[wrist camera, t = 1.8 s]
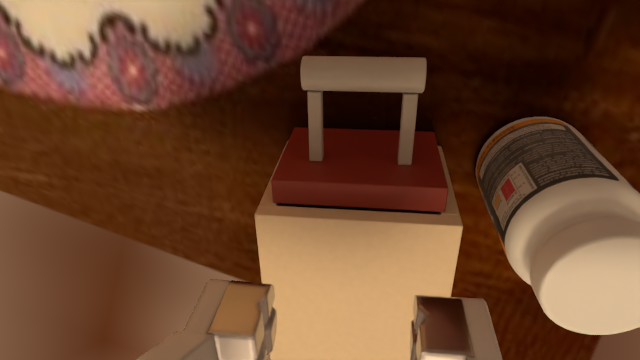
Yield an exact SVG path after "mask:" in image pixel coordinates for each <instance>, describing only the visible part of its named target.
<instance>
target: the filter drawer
mask: <svg viewBox="0 0 640 360" xmlns="http://www.w3.org/2000/svg"><path fill="white" fill-rule="evenodd" d="M426 72H427V62H426V58H419V57H349V56H303V57H302V60H301V69H300V78H301V87H302V89H303V90H308V92H307V97H308V128H304V127H294V129H293V132H292V134H291V136H290V138H289V141H288V143H287V145H286V148H285V150H284V152H283V154H282V157H281V159H280V161H279V164H278V166H277V168H276V170H275V173H274V175H273V177H272V180H271V186H272V198H273V203H280V204H298V205H297V207H308V208H326V209H345V210H363V211H382V212H401V213H419V214H422V212H421V211H431V212H445V210H446V203H447V196H448V190H449V189H448V185H447V181H446V177H445V173H444V169H443V165H442V161H441V157H440V153H439V149H438V145H437V141H436V137H435V133H434V132H425V131H415V123H416V113H417V103H418V93H423V92H424V89H425V83H426ZM323 91H358V92H401V93H403V97H402V109H401V122H400V131H394V130H364V129H334V128H323Z"/></svg>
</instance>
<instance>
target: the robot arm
mask: <svg viewBox="0 0 640 360" xmlns="http://www.w3.org/2000/svg"><path fill="white" fill-rule="evenodd" d="M274 299H275V292H274V286H273V285H272V284H263V283H253V282H243V281H233V280H232V281H227V280H218V279H211V280H210V281H209V282H207V283H206V286H205V288H204V290H203V292H202V294H201V296H200V298H199V300H198V302H197V304H196V306H195V308H194V310H193V312H192V314H191V316H190V318H189V320H188V322H187V324H186V326H185V328H184V330H183V332H178V331H177V332H175V333H173V334H172V335H171V336H169V337H168V338H166V339H165V340H163V341H162V342H161V343H159V344H158V345H156V346H155V347H153V348H152V349H150V350H149V351H148V352H146V353H145V354H143V355H142V356H141V357H139V358H138V359H136V360H267V355H268V354H269V353H271V352H272V351H273V347H274V342H275V337H276V330H277V312H276V310H275V308H274V307H273V302H274ZM413 314H414V320H412V321H411V330H410V360H502V357H501V353H500V350H499V346H498V342H497V339H496V335H495V332H494V328H493V325H492V321H491V318H490V314H489V311H488V307H487V303H486V302H485V300H484V299H475V298H457V297H441V296H426V295H415V298H414V304H413Z"/></svg>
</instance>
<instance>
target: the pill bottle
mask: <svg viewBox="0 0 640 360" xmlns="http://www.w3.org/2000/svg"><path fill="white" fill-rule="evenodd" d="M476 179H477V183H478V186H479V189H480V192H481V194H482V197H483V200H484V202H485V204H486V207H487V210H488V212H489V215H490V217H491V219H492V222H493V224H494V227H495V229H496V231H497V233H498V236H499V239H500V241H501V244H502V246H503V249H504V251H505V254H506V256H507V259H508V261H509V263H510V264H511V266H512V268H513V269H514V271H515V272H516V273H517V274H518V275H519V276H520V277H521V278H522V279H523V280H524V281H525V282H527V283H528V284H529V285H531V286H532V288H533V290H534V293H535V295H536V297H537V299H538V301H539V303H540V305H541V307H542V309H543V311H544V312H545V314H546V315H547V316H548V317H549V318H550V319H551V320H552V321H554V322H555V323H556V324H558V325H560V326H562V327H563V328H566V329H568V330H571V331H574V332H578V333H583V334H590V335H607V334H615V333H620V332H625V331H629V330H632V329H634V328H637V327H640V193H639V192H638V191H637V190H636V189H635V188H634V187H633V185H632V184H631V183H630V182H629V181H627V180H626V179H625V178H624V177H623V176H622V175H621V173H620V172H618V171H617V170H616V169H615V168H614V167H613V166H612V165H611V164H610V163H609V162H608V161H607V160H606V159H605V158H604V157H603V155H602V154H601V153H600V152H599V151H598V150H597V149H596V148H595V147H594V146H593V145H592V144H591V143H590V142H589V141H588V140H587V139H586V138H585V137H584V136H583V135H582V134H581V133H580V132H578V131H577V130H576V129H575V128H574V127H572V126H571V125H569V124H567V123H566V122H563V121H561V120H559V119H555V118H550V117H529V118H523V119H520V120H516V121H514V122H512V123H509V124H507V125H506V126H504V127H502V128H501V129H499V130H497V131H496V132H495V133H494V134H493V135H492V136H491V137H490V138H489V139H488V140H487V142H486V143H485V144H484V146H483V147H482V149H481V151H480V153H479V155H478V159H477V162H476Z"/></svg>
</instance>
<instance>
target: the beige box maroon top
mask: <svg viewBox="0 0 640 360" xmlns="http://www.w3.org/2000/svg"><path fill="white" fill-rule="evenodd" d="M288 141H289V140H288ZM288 141H287V143H288ZM287 143H286V145H287ZM285 148H286V146H285V147H284V150H285ZM438 149H439V153H440V157H441V161H442V165H443V169H444V173H445V177H446V181H447V185H448V189H449V190H448V196H447V203H446V210H445V212H431V211H421V212H422V214H419V213H401V212H382V211H363V210H345V209H326V208H308V207H297V205H298V204H280V203H273V198H272V186H271V180H272V177H273V175H274V173H275V170H276V168H277V166H278V164H279V161H280V159H281V157H282V154H283V152H284V150H283V152H282V154H281V156H280V159H279V161H278V163H277V165H276V168H275V170H274V172H273V175H272V177H271V179H270V181H269V184H268V186H267V188H266V190H265V193H264V195H263V197H262V199H261V202H260V204H259V206H258V208H257V211H256V213H255V223H256V233H257V242H258V251H259V260H260V269H261V278H262V283H263V284H272V285H273V286H274V292H275V299H274V302H273V307H274V308H275V310H276V312H277V330H276V337H275V342H274V347H273V351H272V352H271V353H270V360H410V330H411V321H412V320H414V314H413V304H414V298H415V295H426V296H441V297H451V292H452V286H453V281H454V275H455V269H456V264H457V258H458V252H459V247H460V241H461V235H462V230H463V225H462V221H461V217H460V214H459V210H458V207H457V203H456V199H455V195H454V192H453V188H452V184H451V180H450V177H449V173H448V169H447V165H446V162H445V158H444V154H443V151H442V147H441V146H438Z"/></svg>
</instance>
